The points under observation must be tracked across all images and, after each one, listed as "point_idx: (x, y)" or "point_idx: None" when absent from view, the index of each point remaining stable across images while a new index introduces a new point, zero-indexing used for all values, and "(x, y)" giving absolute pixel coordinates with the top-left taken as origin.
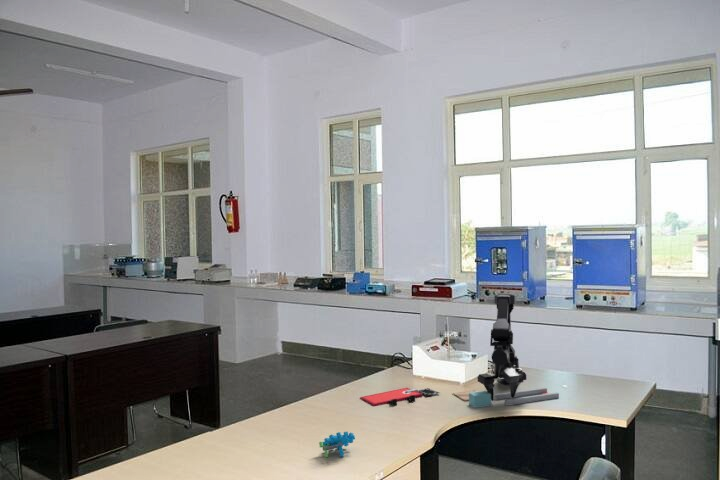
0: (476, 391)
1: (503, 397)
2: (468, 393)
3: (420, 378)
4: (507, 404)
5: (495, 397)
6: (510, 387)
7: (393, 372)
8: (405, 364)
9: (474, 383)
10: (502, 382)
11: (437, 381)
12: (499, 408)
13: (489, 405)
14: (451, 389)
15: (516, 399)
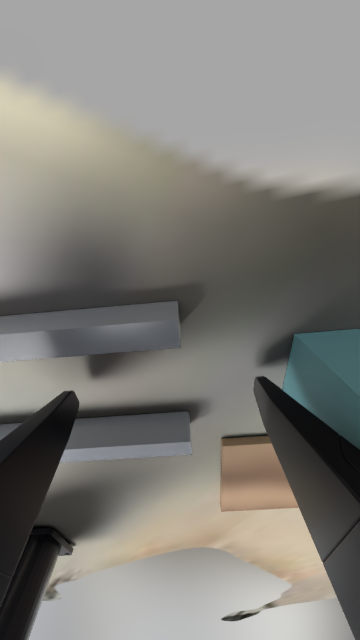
0: (222, 502)
1: (130, 423)
2: (276, 492)
3: (296, 576)
4: (165, 304)
5: (189, 427)
6: (34, 507)
7: (320, 595)
8: (254, 609)
9: (166, 545)
10: (58, 541)
11: (270, 563)
12: (285, 241)
13: (307, 333)
14: (287, 526)
15: (53, 328)
